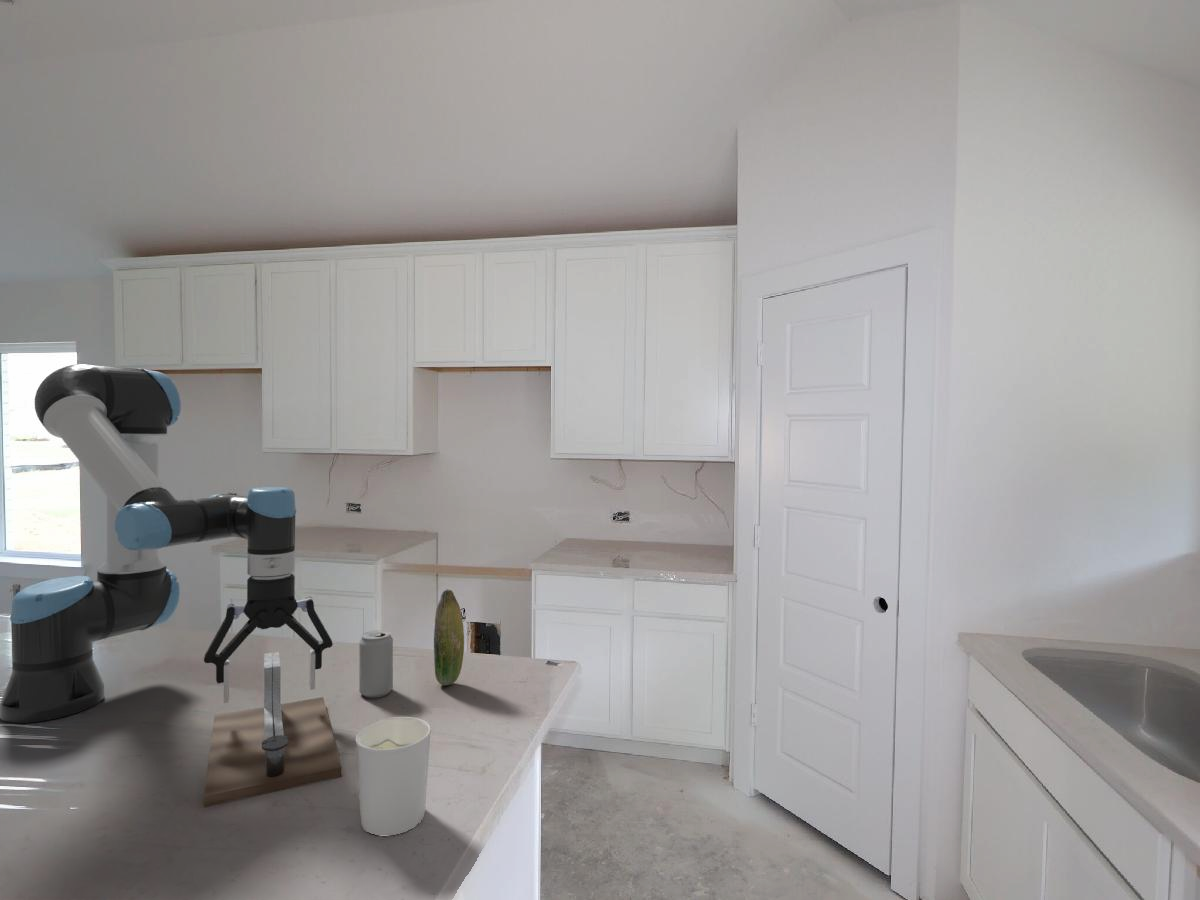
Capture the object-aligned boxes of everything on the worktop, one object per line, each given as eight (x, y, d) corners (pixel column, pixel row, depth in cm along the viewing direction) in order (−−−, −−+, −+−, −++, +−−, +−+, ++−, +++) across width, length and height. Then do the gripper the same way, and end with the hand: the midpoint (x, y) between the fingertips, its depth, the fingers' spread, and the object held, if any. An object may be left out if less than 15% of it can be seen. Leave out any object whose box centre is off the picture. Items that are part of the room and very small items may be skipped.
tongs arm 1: (273, 764, 99) (273, 699, 99) (265, 766, 99) (265, 701, 98) (271, 706, 120) (271, 652, 119) (264, 707, 119) (264, 653, 119)
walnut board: (214, 723, 117) (214, 715, 117) (323, 704, 125) (323, 697, 125) (204, 807, 91) (203, 796, 91) (341, 776, 100) (341, 766, 100)
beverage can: (382, 700, 127) (382, 640, 127) (352, 697, 129) (352, 637, 128) (398, 688, 134) (398, 630, 133) (370, 685, 135) (370, 628, 135)
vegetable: (467, 681, 138) (468, 587, 137) (458, 692, 132) (459, 594, 131) (439, 679, 139) (440, 586, 138) (429, 691, 132) (430, 593, 132)
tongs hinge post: (289, 775, 97) (289, 742, 97) (261, 781, 95) (261, 748, 95) (287, 764, 100) (287, 732, 100) (261, 770, 98) (261, 737, 98)
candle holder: (366, 799, 94) (366, 717, 93) (435, 797, 94) (436, 715, 94) (345, 842, 84) (345, 750, 84) (423, 839, 85) (423, 748, 84)
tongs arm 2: (284, 762, 100) (284, 697, 100) (275, 764, 99) (275, 699, 99) (278, 705, 120) (278, 651, 120) (271, 706, 120) (271, 652, 119)
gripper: (186, 586, 106) (185, 714, 107) (349, 573, 118) (347, 689, 119) (190, 576, 113) (189, 697, 113) (343, 565, 124) (342, 674, 125)
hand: (270, 693), depth 116 cm, fingers open, 13 cm apart
